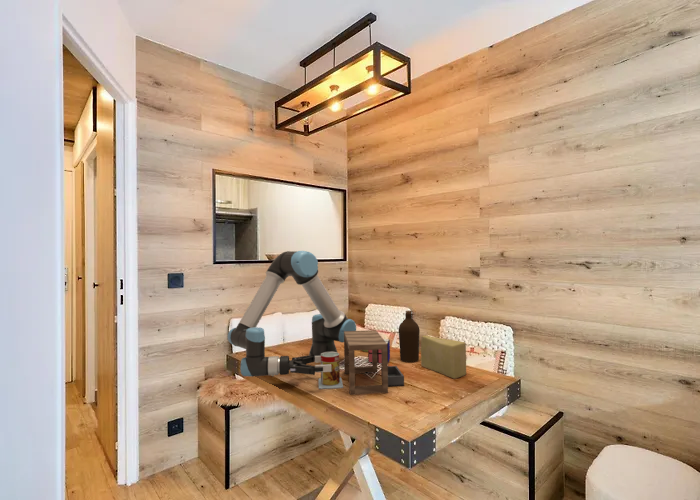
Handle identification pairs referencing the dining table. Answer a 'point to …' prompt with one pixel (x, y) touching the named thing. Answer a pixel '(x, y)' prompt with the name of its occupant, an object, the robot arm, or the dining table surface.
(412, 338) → the olive oil
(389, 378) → the tray
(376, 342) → the tunnel
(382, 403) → the dining table surface
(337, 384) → the mat
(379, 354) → the puzzle cube
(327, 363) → the canned food
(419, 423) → the dining table surface
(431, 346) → the cheese
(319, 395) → the dining table surface
